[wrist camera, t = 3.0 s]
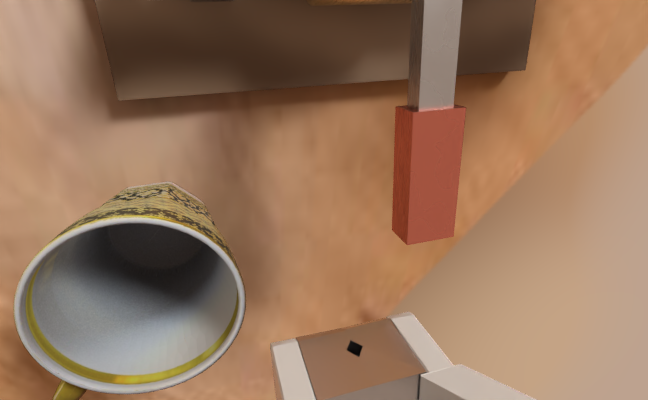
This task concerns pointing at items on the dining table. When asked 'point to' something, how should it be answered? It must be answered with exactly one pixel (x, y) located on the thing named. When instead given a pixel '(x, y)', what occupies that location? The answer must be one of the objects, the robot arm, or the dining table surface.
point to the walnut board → (289, 43)
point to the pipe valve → (336, 2)
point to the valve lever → (429, 127)
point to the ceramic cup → (132, 295)
